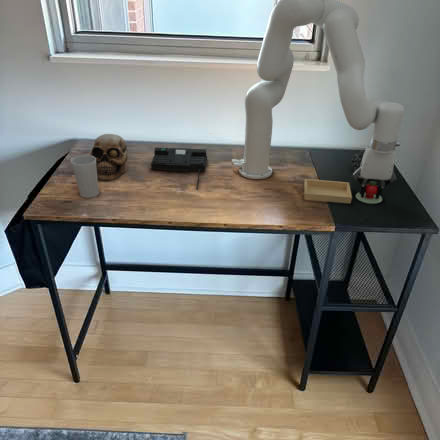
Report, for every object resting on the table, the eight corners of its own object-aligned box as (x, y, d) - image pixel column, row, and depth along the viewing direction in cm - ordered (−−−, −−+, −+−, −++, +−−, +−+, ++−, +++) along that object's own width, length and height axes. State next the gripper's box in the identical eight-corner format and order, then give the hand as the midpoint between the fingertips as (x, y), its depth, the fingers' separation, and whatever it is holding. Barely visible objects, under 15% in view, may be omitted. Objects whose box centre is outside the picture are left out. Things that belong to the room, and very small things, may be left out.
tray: (303, 200, 153) (305, 193, 151) (303, 186, 161) (304, 178, 160) (350, 204, 151) (352, 197, 149) (347, 189, 160) (349, 182, 158)
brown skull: (101, 182, 159) (95, 144, 152) (84, 170, 171) (77, 134, 164) (141, 173, 167) (137, 137, 160) (121, 162, 179) (117, 128, 172)
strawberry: (363, 198, 153) (367, 184, 150) (362, 193, 156) (365, 179, 153) (376, 199, 152) (380, 185, 149) (375, 194, 156) (378, 180, 152)
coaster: (356, 203, 152) (356, 202, 151) (354, 191, 159) (354, 190, 158) (383, 206, 151) (384, 204, 151) (380, 194, 158) (380, 192, 158)
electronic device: (144, 187, 158) (143, 174, 154) (157, 154, 181) (156, 142, 178) (203, 189, 157) (203, 176, 154) (207, 156, 181) (208, 143, 178)
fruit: (376, 161, 158) (372, 144, 169) (352, 166, 160) (349, 149, 171) (379, 183, 163) (374, 165, 174) (355, 187, 165) (352, 170, 176)
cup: (105, 190, 155) (100, 157, 148) (93, 200, 149) (87, 166, 142) (85, 186, 157) (79, 153, 149) (72, 196, 151) (65, 162, 144)
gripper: (407, 142, 145) (392, 193, 156) (354, 138, 146) (343, 189, 158) (411, 150, 139) (396, 203, 151) (356, 146, 141) (345, 199, 152)
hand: (369, 195), depth 154 cm, fingers closed on strawberry, 4 cm apart
